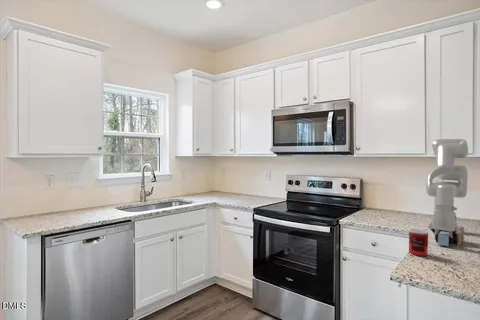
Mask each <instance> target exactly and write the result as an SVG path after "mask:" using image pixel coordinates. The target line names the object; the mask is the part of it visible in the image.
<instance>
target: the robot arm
mask: <svg viewBox="0 0 480 320" xmlns="http://www.w3.org/2000/svg"><path fill="white" fill-rule="evenodd" d="M431 148H432V151H433V152H434V155H435V157H436V164H435V165H436V167H435V168H433V169H432V170H431V171H430V172H429V173H428V175H427V177H426V185H425V186H426V187H425V191H426V192H425V193H426V194H427V195H428V196H430V197H434V198H433V199H434V201H433V202H434V203H433V205H434V208H433V209H434V211H433V215H432V216H433V217H432V222H431V223H430V224H429V225H428V226H427V228H428V229H429V230H430V231H431V232H432V233H433V234H434V241H435V242H436V243H437V244H438V234H439V233H438V232H439V230H444V231H448V232H449V235H450V236H449V246H451V245H452V244H454V240H453V237H454V236H455V235H457V234H459V233H461V230H460V229H459V228H458V227H457V226H458V225H457V223H458V222H457V220H458V219H457V213H456V211H457V210H458V207H455V206H454V203H455V201H454V200H455V198H459V199H460V198H461V199H463V198H465V197H467V193H468V176H469V175H468V169H467V167H466V166H464V165H460V164H459V165H458V164H455V163H456V162H455V161H456V160H455V159H465V158H467V157H468V154H469V146H468V142H467V140H466V139H463V138H439V139H435V140H432V142H431ZM435 178H437V179H439V180H441V181H437V182H433V180H434V179H435ZM442 180H443V181H442ZM444 180H445V181H444ZM456 181H457V182H456ZM455 230H457V232H455V233H453V231H455Z"/></svg>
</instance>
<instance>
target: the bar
mask: <svg viewBox="0 0 480 320" xmlns="http://www.w3.org/2000/svg"><path fill="white" fill-rule="evenodd" d="M449 236H450V235H449V232H445V231H441V232H440V233H439V234H438V243H437V245H438V246H443V247H444V246H445V247H449V246H450V245H449Z"/></svg>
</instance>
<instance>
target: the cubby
mask: <svg viewBox="0 0 480 320" xmlns="http://www.w3.org/2000/svg"><path fill="white" fill-rule="evenodd" d="M457 227H458V228H459V229H460V230H461V233H459V234H457V235H455V236H454V237H453V241H456V246H460V245H461V244H463V243H464V238H465V237H464V235H465V227H464V226H460V225H459V226H458V225H457ZM441 231H444V230H439V232H438V233H440V232H441ZM445 232H448V231H445ZM455 232H457V230H455V231H453V233H455Z"/></svg>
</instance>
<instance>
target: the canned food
mask: <svg viewBox="0 0 480 320" xmlns="http://www.w3.org/2000/svg"><path fill="white" fill-rule="evenodd" d="M408 231H409V232H408V253H409V254H410V253H411V254H413V255H412V256H414V255H415V256H416V257H419V256H420V257H421V258H424V257H425V258H426V257H427V256H428V254H429V253H428V250H429V248H428V247H429V232H428V231H426V230H423V229H416V228H415V229H414V228H411V229H409V230H408ZM411 254H410V255H411ZM415 256H414V257H415ZM420 257H419V258H420Z"/></svg>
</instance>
